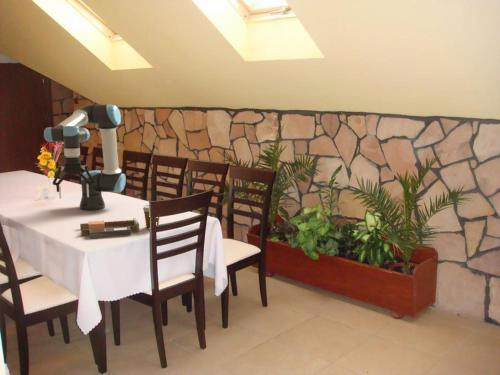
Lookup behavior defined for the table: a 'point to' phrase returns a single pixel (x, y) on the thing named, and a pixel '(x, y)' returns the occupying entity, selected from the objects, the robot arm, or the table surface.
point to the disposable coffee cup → (147, 218)
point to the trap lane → (111, 229)
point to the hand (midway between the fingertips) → (74, 197)
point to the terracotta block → (97, 226)
